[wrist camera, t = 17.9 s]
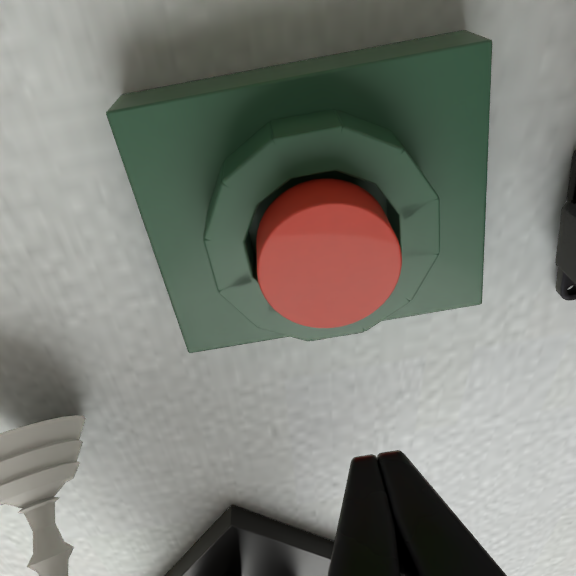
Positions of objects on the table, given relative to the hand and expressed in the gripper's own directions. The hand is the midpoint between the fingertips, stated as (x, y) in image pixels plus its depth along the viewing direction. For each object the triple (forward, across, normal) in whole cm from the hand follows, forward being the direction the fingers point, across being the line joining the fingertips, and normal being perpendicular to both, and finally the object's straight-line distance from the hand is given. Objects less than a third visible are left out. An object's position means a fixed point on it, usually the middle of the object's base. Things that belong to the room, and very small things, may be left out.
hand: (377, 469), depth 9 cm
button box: (+12, 0, 0) cm, 12 cm away
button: (+8, 0, 0) cm, 8 cm away
